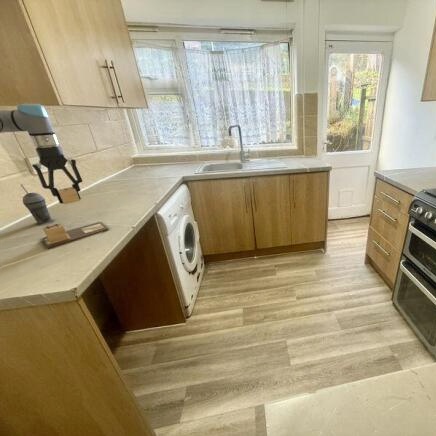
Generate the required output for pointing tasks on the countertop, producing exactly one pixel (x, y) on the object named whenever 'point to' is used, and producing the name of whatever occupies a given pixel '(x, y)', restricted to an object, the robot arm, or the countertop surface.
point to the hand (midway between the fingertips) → (70, 200)
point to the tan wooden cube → (68, 195)
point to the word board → (77, 234)
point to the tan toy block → (55, 232)
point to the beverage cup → (36, 207)
